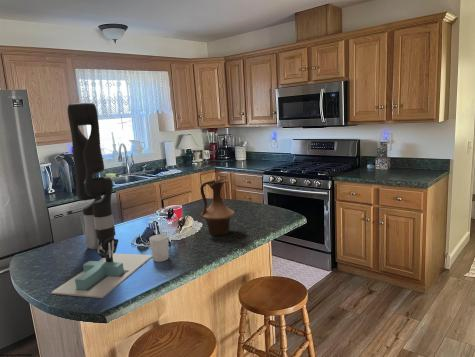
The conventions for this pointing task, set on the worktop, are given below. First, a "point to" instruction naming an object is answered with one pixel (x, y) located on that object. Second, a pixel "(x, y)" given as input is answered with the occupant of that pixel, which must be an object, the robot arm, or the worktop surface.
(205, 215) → the pitcher
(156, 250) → the white cup
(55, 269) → the worktop surface
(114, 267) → the t block
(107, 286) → the mat
